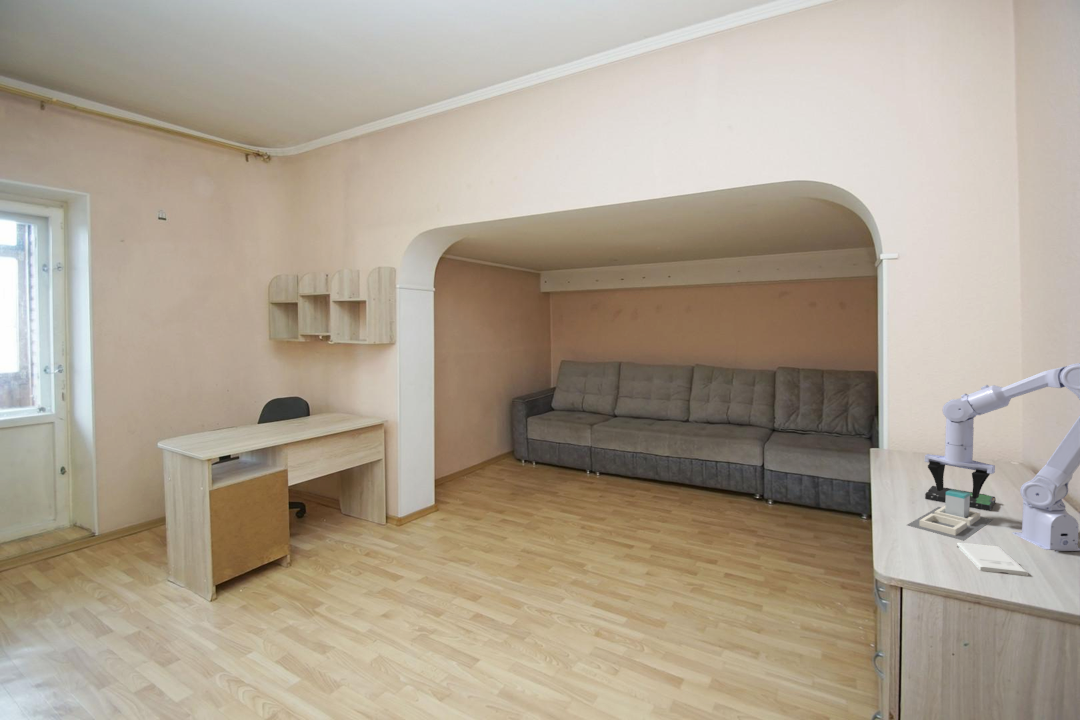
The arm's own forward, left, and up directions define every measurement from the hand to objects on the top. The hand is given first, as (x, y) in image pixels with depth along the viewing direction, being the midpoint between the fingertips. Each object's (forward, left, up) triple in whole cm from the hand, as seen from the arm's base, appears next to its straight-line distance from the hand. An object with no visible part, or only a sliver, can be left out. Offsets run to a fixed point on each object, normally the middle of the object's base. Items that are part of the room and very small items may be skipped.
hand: (957, 493), depth 136 cm
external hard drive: (-24, +9, -8) cm, 26 cm away
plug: (0, 0, -7) cm, 7 cm away
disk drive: (+13, -10, -8) cm, 18 cm away
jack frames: (-3, +4, -7) cm, 9 cm away
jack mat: (-3, +4, -7) cm, 9 cm away
